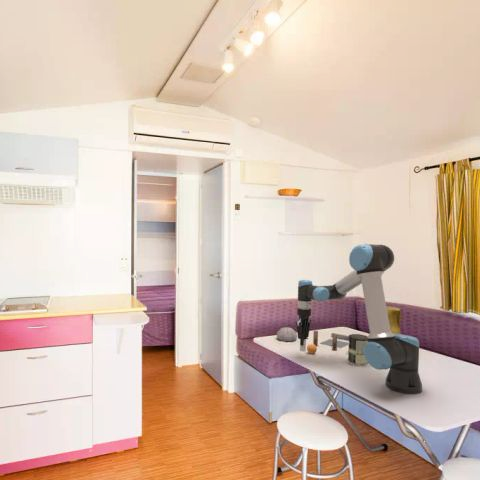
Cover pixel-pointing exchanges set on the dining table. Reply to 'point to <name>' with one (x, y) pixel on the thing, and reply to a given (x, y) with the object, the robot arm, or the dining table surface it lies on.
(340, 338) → the wall
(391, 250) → the robot arm
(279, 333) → the sea urchin shell
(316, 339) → the left post
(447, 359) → the dining table surface
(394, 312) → the pitcher
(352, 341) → the coffee can
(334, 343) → the right post
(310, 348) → the ball
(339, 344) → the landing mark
